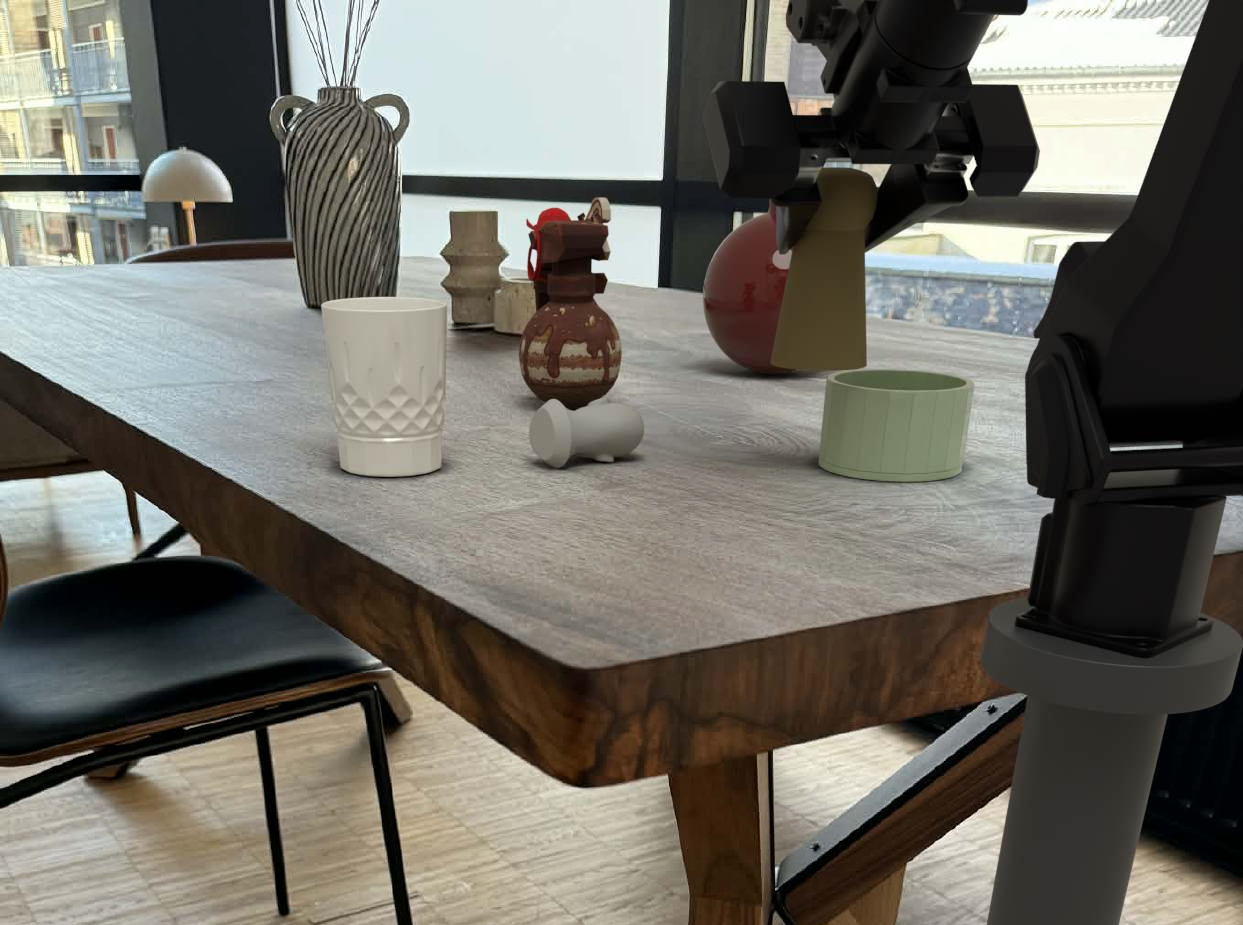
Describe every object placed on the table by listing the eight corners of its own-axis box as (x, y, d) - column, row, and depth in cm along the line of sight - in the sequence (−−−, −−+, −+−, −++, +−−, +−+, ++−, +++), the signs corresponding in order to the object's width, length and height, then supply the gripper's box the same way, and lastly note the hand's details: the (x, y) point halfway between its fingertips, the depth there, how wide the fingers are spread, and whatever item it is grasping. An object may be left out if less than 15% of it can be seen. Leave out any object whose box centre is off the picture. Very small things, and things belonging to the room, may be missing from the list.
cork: (752, 360, 93) (766, 166, 88) (832, 355, 95) (850, 166, 90) (803, 372, 88) (820, 168, 83) (886, 367, 90) (908, 168, 85)
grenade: (501, 399, 119) (500, 195, 112) (594, 394, 122) (598, 194, 114) (537, 419, 112) (538, 201, 104) (635, 413, 114) (643, 200, 106)
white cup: (341, 482, 92) (330, 312, 87) (323, 458, 98) (313, 298, 93) (462, 476, 94) (459, 308, 89) (437, 452, 100) (433, 295, 95)
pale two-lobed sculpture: (619, 467, 102) (657, 457, 97) (518, 476, 98) (553, 465, 94) (612, 403, 101) (651, 389, 96) (510, 409, 97) (545, 395, 93)
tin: (988, 467, 97) (1002, 380, 94) (908, 488, 91) (920, 396, 89) (872, 447, 103) (881, 364, 100) (789, 465, 97) (797, 378, 94)
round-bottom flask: (671, 368, 134) (683, 121, 125) (785, 359, 140) (805, 122, 130) (753, 389, 124) (773, 122, 115) (874, 378, 130) (903, 123, 120)
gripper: (1048, -87, 79) (927, 143, 94) (725, -100, 75) (652, 142, 90) (1102, 76, 76) (969, 286, 91) (770, 71, 72) (686, 292, 87)
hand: (820, 247), depth 90 cm, fingers closed on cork, 5 cm apart
